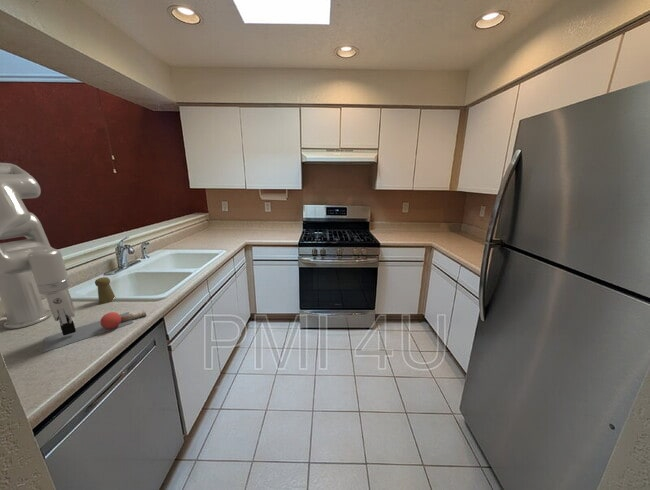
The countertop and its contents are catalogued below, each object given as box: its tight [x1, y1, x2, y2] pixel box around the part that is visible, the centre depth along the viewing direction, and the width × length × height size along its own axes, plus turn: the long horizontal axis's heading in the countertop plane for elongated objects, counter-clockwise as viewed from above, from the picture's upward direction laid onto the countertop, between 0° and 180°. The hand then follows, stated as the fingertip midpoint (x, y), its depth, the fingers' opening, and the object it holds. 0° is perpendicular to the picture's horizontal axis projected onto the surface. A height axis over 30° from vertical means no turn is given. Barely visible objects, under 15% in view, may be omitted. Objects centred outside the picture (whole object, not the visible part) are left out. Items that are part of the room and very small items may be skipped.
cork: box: [94, 276, 116, 305], centre depth 115 cm, size 6×6×11 cm
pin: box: [120, 309, 147, 323], centre depth 102 cm, size 2×2×8 cm
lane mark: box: [43, 311, 134, 353], centre depth 95 cm, size 24×11×1 cm, turn 135°
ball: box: [99, 311, 121, 329], centre depth 95 cm, size 6×6×6 cm
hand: (69, 332), depth 91 cm, fingers closed
